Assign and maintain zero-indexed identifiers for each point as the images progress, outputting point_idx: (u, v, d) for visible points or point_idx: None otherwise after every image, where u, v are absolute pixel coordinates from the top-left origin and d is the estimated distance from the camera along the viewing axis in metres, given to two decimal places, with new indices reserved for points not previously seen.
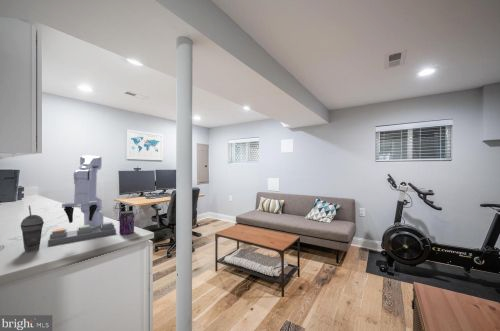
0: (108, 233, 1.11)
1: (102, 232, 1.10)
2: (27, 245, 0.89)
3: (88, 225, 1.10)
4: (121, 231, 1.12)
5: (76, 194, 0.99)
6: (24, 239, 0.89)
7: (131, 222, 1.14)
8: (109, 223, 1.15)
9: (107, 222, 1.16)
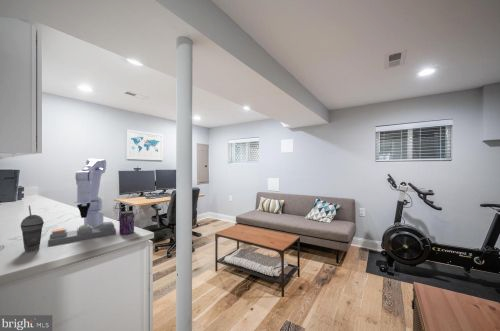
0: (108, 233, 1.11)
1: (102, 232, 1.10)
2: (27, 245, 0.89)
3: (88, 225, 1.10)
4: (121, 231, 1.12)
5: None
6: (24, 239, 0.89)
7: (131, 222, 1.14)
8: (109, 223, 1.15)
9: (107, 222, 1.16)
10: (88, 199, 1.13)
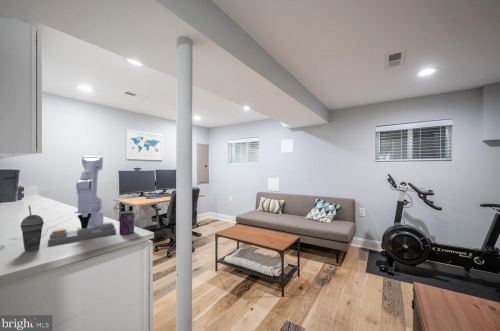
0: (108, 233, 1.11)
1: (102, 232, 1.10)
2: (27, 245, 0.89)
3: (88, 227, 1.10)
4: (121, 231, 1.12)
5: None
6: (24, 239, 0.89)
7: (131, 222, 1.14)
8: (109, 223, 1.15)
9: (107, 222, 1.16)
10: (89, 209, 1.09)
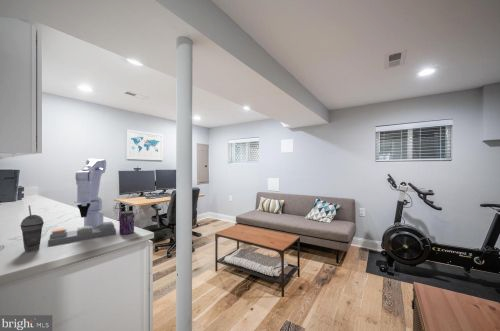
0: (108, 233, 1.11)
1: (102, 232, 1.10)
2: (27, 245, 0.89)
3: (88, 227, 1.10)
4: (121, 231, 1.12)
5: None
6: (24, 239, 0.89)
7: (131, 222, 1.14)
8: (109, 223, 1.15)
9: (107, 222, 1.16)
10: (88, 199, 1.13)
